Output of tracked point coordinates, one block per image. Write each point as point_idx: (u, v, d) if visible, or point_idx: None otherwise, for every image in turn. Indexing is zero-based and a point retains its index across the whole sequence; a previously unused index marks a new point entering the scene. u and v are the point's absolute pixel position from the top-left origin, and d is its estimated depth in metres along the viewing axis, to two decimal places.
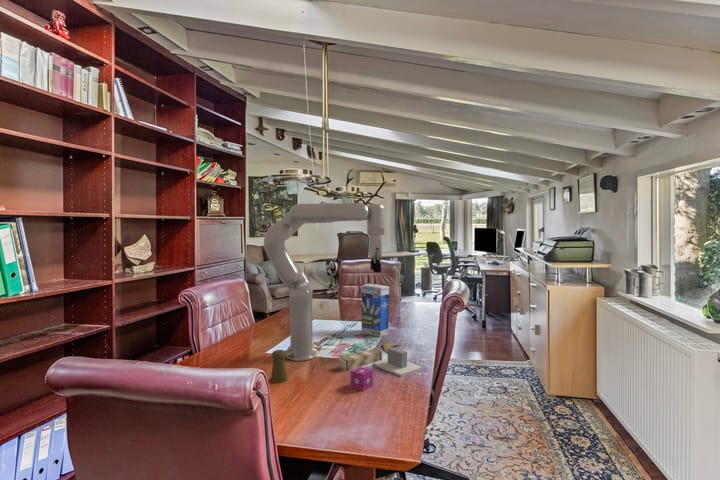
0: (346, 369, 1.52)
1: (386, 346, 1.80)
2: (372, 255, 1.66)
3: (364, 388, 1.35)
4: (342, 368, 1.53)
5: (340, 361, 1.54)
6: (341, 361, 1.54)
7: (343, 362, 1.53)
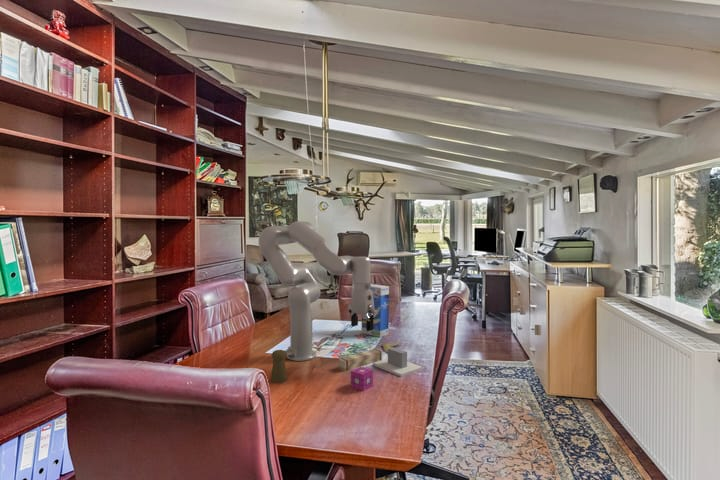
0: (346, 369, 1.52)
1: (386, 346, 1.80)
2: None
3: (364, 388, 1.35)
4: (342, 368, 1.53)
5: (340, 361, 1.54)
6: (341, 361, 1.54)
7: (343, 362, 1.53)
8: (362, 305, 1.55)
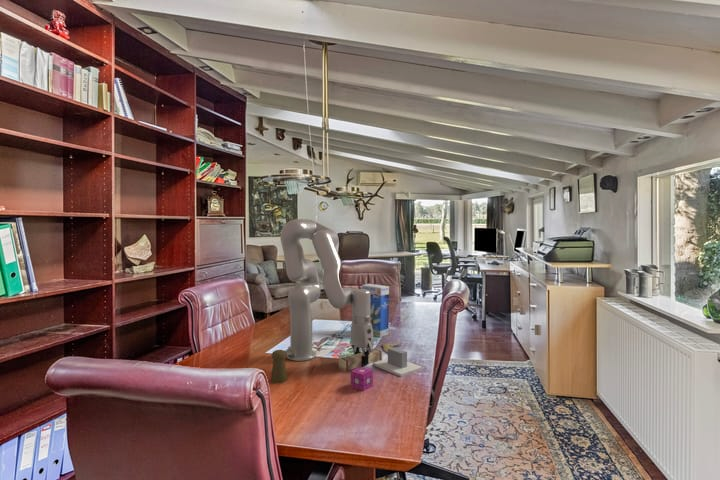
0: (346, 369, 1.52)
1: (386, 346, 1.80)
2: None
3: (364, 388, 1.35)
4: (342, 368, 1.53)
5: (340, 361, 1.54)
6: (341, 361, 1.54)
7: (343, 362, 1.53)
8: (361, 339, 1.56)
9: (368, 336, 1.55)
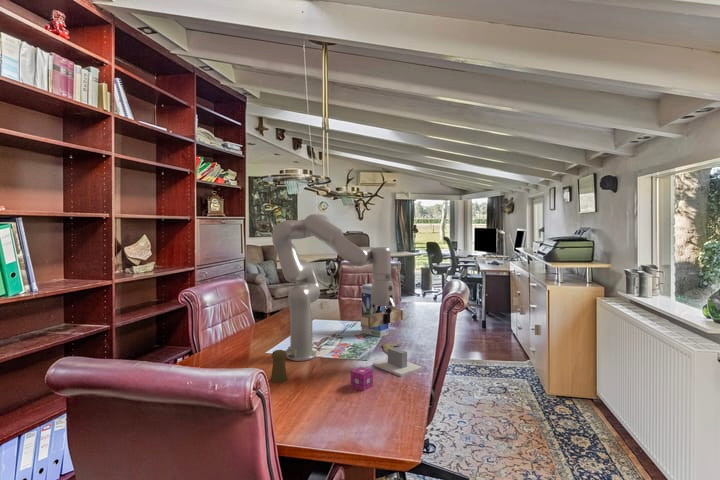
0: (368, 326, 1.50)
1: (386, 346, 1.80)
2: None
3: (364, 388, 1.35)
4: (364, 325, 1.51)
5: (362, 319, 1.52)
6: (363, 318, 1.51)
7: (365, 319, 1.50)
8: (383, 296, 1.53)
9: (390, 293, 1.53)
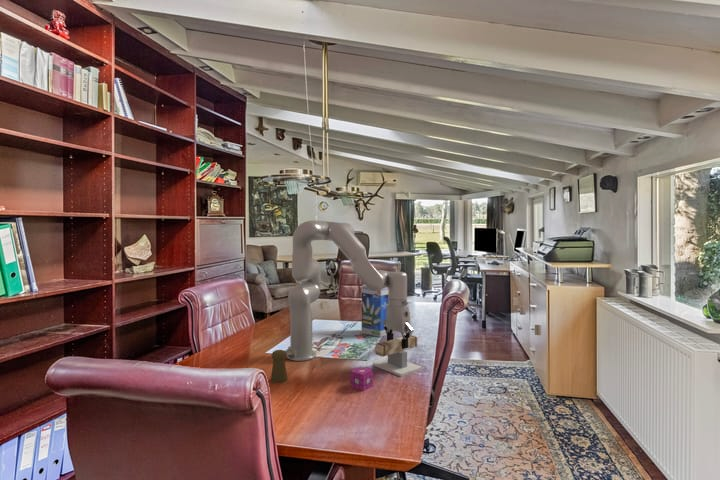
0: (383, 354, 1.49)
1: None
2: None
3: (364, 388, 1.35)
4: (379, 353, 1.50)
5: (377, 346, 1.51)
6: (378, 346, 1.50)
7: (380, 347, 1.49)
8: (399, 322, 1.52)
9: (405, 319, 1.52)
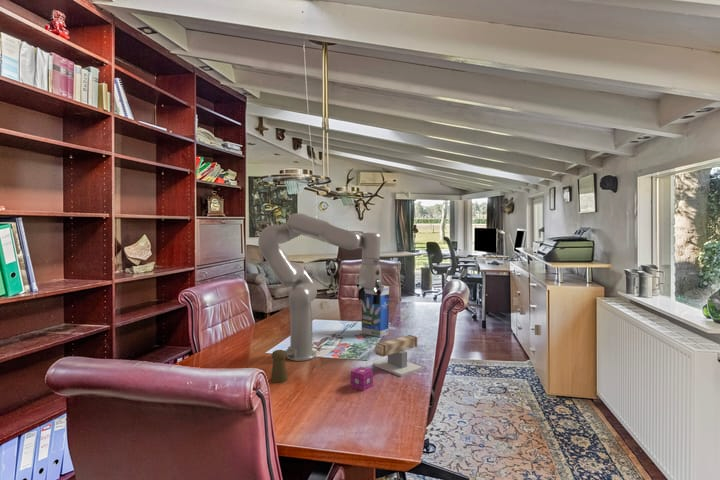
0: (383, 354, 1.49)
1: None
2: None
3: (364, 388, 1.35)
4: (379, 353, 1.50)
5: (377, 346, 1.51)
6: (378, 346, 1.50)
7: (380, 347, 1.49)
8: (370, 279, 1.60)
9: (376, 277, 1.60)
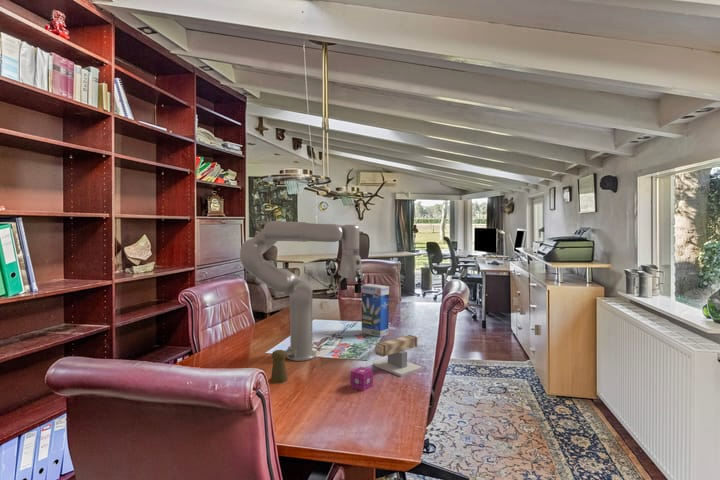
0: (383, 354, 1.49)
1: None
2: None
3: (364, 388, 1.35)
4: (379, 353, 1.50)
5: (377, 346, 1.51)
6: (378, 346, 1.50)
7: (380, 347, 1.49)
8: (351, 269, 1.67)
9: (357, 267, 1.66)
